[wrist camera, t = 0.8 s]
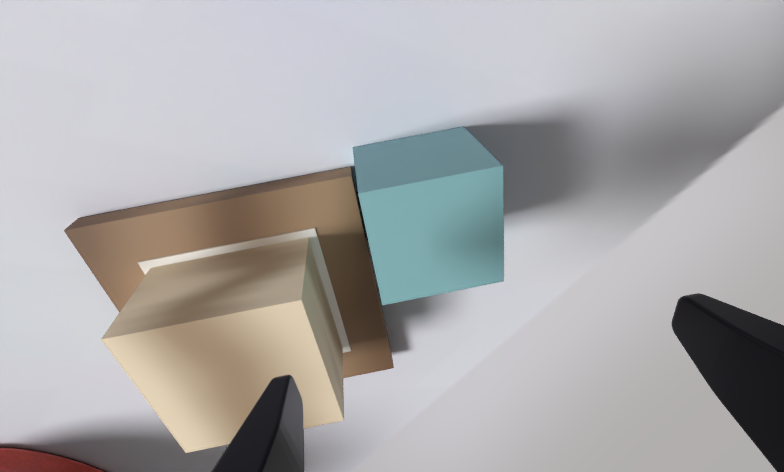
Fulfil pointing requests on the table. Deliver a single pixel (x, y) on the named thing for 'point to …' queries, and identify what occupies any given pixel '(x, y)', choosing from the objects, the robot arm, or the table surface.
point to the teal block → (431, 213)
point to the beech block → (230, 340)
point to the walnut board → (250, 230)
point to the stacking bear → (38, 462)
